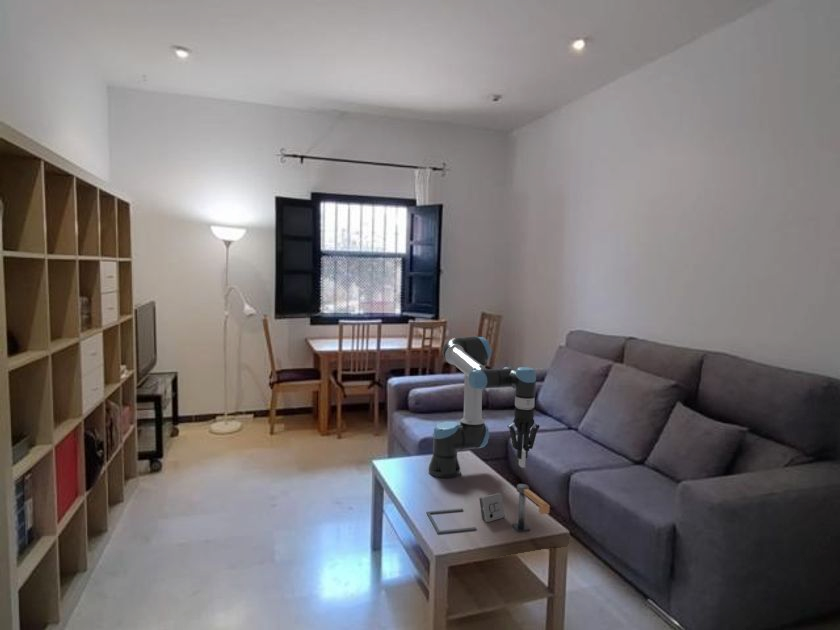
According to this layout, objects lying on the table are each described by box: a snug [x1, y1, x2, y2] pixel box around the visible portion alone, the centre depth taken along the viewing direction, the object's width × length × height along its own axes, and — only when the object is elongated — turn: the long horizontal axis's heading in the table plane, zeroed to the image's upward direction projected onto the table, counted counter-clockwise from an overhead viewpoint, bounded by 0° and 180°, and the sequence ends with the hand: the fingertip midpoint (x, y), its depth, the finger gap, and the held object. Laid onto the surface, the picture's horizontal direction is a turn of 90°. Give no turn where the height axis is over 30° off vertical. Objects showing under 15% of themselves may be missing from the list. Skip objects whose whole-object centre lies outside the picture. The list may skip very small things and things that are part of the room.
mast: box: [511, 492, 531, 533], centre depth 187 cm, size 5×5×14 cm
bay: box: [425, 508, 478, 535], centre depth 191 cm, size 16×15×1 cm
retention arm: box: [516, 483, 551, 515], centre depth 180 cm, size 17×4×4 cm, turn 20°
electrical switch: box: [478, 492, 505, 523], centre depth 195 cm, size 9×5×9 cm, turn 121°
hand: (521, 466), depth 196 cm, fingers closed
